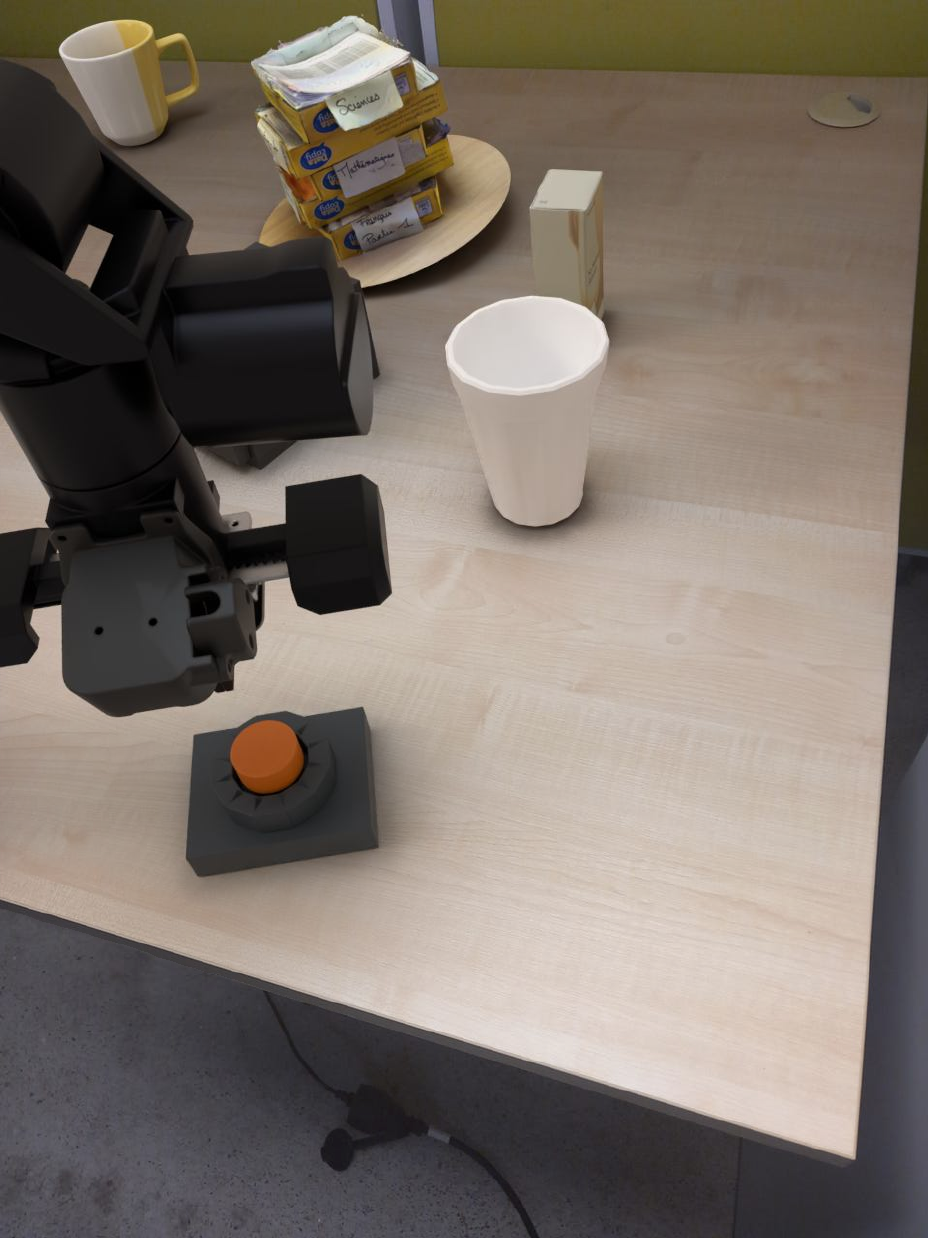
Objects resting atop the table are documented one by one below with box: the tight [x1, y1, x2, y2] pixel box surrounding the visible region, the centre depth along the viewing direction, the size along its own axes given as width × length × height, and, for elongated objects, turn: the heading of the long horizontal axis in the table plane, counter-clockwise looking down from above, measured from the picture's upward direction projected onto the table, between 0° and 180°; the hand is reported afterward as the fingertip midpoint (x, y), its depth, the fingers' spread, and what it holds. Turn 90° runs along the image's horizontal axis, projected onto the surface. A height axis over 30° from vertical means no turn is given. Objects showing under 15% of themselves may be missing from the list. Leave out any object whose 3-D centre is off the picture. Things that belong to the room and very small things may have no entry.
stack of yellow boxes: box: [250, 13, 512, 289], centre depth 92 cm, size 25×25×17 cm
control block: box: [185, 706, 380, 878], centre depth 57 cm, size 10×8×4 cm
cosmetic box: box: [529, 168, 605, 321], centre depth 80 cm, size 6×4×12 cm
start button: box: [230, 720, 304, 794], centre depth 55 cm, size 4×4×2 cm
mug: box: [58, 19, 201, 147], centre depth 114 cm, size 14×10×10 cm
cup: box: [444, 295, 610, 527], centre depth 67 cm, size 10×10×13 cm
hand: (226, 684), depth 50 cm, fingers closed
